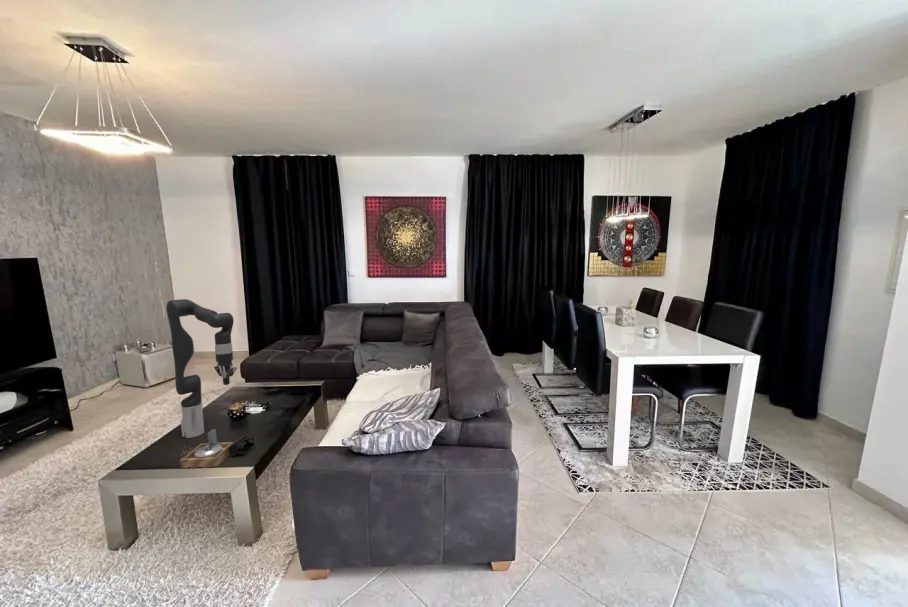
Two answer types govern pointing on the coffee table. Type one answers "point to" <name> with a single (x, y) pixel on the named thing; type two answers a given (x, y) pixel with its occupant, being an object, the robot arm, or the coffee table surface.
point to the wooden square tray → (205, 462)
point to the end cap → (241, 446)
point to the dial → (209, 447)
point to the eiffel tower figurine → (185, 451)
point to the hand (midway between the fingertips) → (226, 384)
